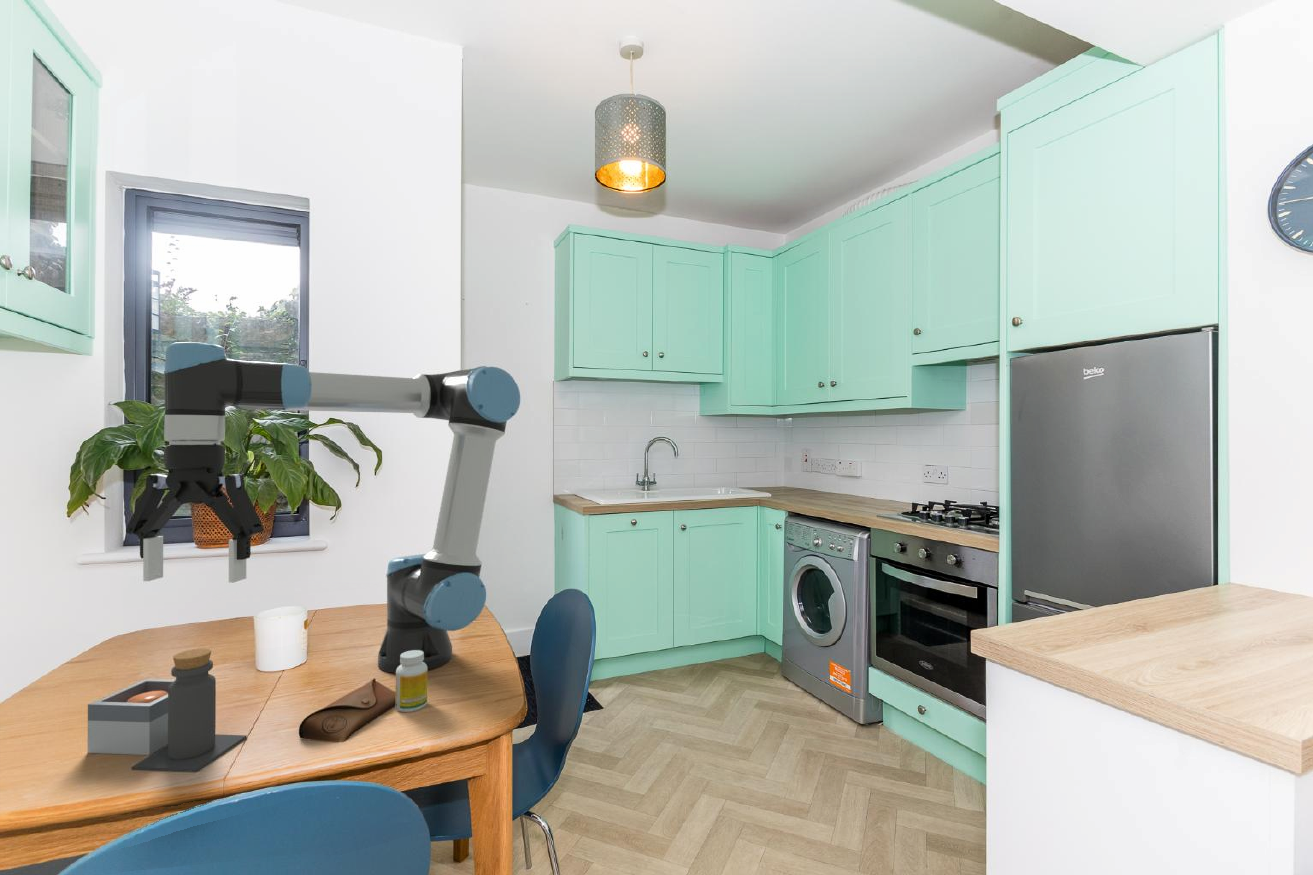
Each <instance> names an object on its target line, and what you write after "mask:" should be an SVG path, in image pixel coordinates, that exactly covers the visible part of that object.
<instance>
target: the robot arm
mask: <svg viewBox="0 0 1313 875" xmlns="http://www.w3.org/2000/svg"><path fill="white" fill-rule="evenodd" d="M226 354H227V353H226V350H225V348H224V347H223V346H221V345H218V344H212V343H211V344H209V343H206V342H193V341H179V342H174V343H171V344H169V345H168V346H167V347H166V350H165V361H164V370H163V381H164V382H163V383H164V386H163V387H164V434H163V435H164V436H163V437H164V438H163V439H164V441H166V442H169V444H167V445H165V447H164V453H163V454H164V461H163V462H164V468H165V469H167V470H168V472H167V474H166V473H154V474H153V473H152V474H147V476H146V478H145V488H144V490H143V493H142V494H141V497H140V499H139V501H138V503H137V505H136V507H135V510H134V511H133V514H132V515H131V518H130V519H129V522H128V524H127V526H126V528H125V532H126V534H128V535H132V534H133V535H135V536H136V537H138V538H139V557H140V559H142V560H143V562H142V563H143V565H142V567H143V568H142V570H143V571H142V572H143V573H142V574H143V576H142V577H143V578H142V580H143V582H151V581H154V580H158V579H162V578H164V536H163V535H162V532H161V531H162V529H163V528H164V527H165V526H166V524H167V523H168V522H169V521H170V520H171V519H172V517H173V516H174V515H175V513H176V512H177V511H178V510H179V509H180V508H181V507H182V506H183V505H184V504H185V505H186V504H193V505H194V504H197V505H200V504H204V505H205V506H206V507H209V508H210V509H211V510H212V512H213V513H214V514H215V516H216V517H217V518H218V519H219V520H220V522H222V524H223V525H224V526H225V528H226V529H227V530H228V531H229V533H230V534H231V535H232V536H233V537H231V539H228V583H236V582H239V581H242V580H247V559H250V557H251V554H252V553H251V552H252V551H251V550H252V549H251V542H252V541H251V539H252V537H253V536H255V535H258V534H260V533H263V532H264V530H265V527H264V525H263V523H262V522H261V519H260V517H259V515H258V513H257V510H256V508H255V507H254V505H253V503H252V500H251V498H250V496H249V494H248V492H247V489H246V485H245V480H244V479H245V478H244V475H243V474H241V473H237V474H236V473H235V474H227V475H224V473H223V469H224V467H225V466H226V446H224V444H221V442H224V441H225V440H226V407H233V408H235V409H238V410H240V411H246V412H247V411H248V412H251V411H253V412H254V411H305V412H307V411H309V412H311V411H312V412H318V411H319V412H349V413H350V412H351V413H352V412H354V413H357V412H358V413H360V412H361V413H391V414H392V413H395V414H397V413H398V414H399V413H401V414H413V415H414V416H415V417H416V418H419V419H436V420H442V421H448V422H447V423H448V425H447V426H448V428H449V429H450V430H451V432H452V433H453V439H452V443H451V449H450V455H449V460H448V466H447V471H446V476H445V481H444V486H443V492H442V498H441V502H440V506H439V507H440V508H439V512H438V518H437V524H436V529H435V534H434V540H433V546H432V549H431V550H430V551H428V552H427V553H423V554H413V555H406V556H398V557H395V558H392V559H391V560H389V562H388V563H387V572H386V574H385V575H386V630H385V634H384V636H383V639H382V642H381V644H380V648H379V651H378V654H377V666H378V668H379V669H380V670H382V671H384V672H387V673H393V674H394V673H395V674H396V669H397V668H398V666H400V665H401V663H400V655H401V654H402V653H404V652H407V651H412V650H420V651H423V652H424V659H423V661H422V662H424V663H425V664H426V665H427V671H429V670H432V669H436V668H439V667H441V666H443V665H445V664H447V663H448V662H450V661H451V659H452V657H453V645H452V642H451V638H450V636H449V633H448V632H454V631H459V630H462V629H464V628H466V627H468V626H469V625H471V624H472V623H473V621H475V620H477V619H478V618H479V616H480V615H481V614H482V611H483V609H484V608H485V604H486V601H487V590H486V586H485V585H484V582H483V580H482V579H481V578H480V576H481V575H480V574H481V569H482V561H481V560H480V558H479V557H478V556H477V548H478V544H479V538H480V531H481V526H482V520H483V516H484V515H483V514H484V510H485V503H486V499H487V498H486V497H487V492H488V488H489V487H488V486H489V481H490V475H491V471H492V464H493V458H494V453H495V447H496V443H497V441H498V440H499V439H500V438H502V437H503V436H505V433H506V429H507V421H509V420H511V419H512V418H513V416H516V414H517V413H518V412H519V411H518V410H519V408H520V404H521V393H520V392H521V391H520V387H519V386H518V383H517V382H516V381H515V379H514V377H513V376H512V375H511V374H510V373H509V372H508V371H506V370H504V369H503V368H500V367H497V366H496V367H495V366H487V365H486V366H485V365H482V366H477V367H475V368H469V369H462V370H461V369H460V370H455V371H451V372H445V373H436V374H435V373H434V374H426V373H425V374H424V373H418V374H417V375H416V376H414V377H413V378H412V377H399V376H398V377H396V376H393V377H392V376H381V375H365V374H364V375H362V374H346V373H345V374H344V373H333V372H314V371H313V372H312V371H309V369H308V368H307V367H305V366H303V365H299V364H292V363H291V364H290V363H289V362H283V363H281V362H280V363H279V362H278V363H277V362H269V361H268V362H266V361H249V360H248V361H247V360H238V359H234V358H233V359H232V358H228V357H227V356H228V355H226ZM167 488H168V489H169V490H168V491H167V493H166V494H165V492H166V489H167ZM222 488H223V489H225V492H226V493H225V492H224V491H223V489H222Z"/></svg>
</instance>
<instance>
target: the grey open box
mask: <svg viewBox="0 0 1313 875" xmlns="http://www.w3.org/2000/svg"><path fill="white" fill-rule="evenodd" d="M175 680H176V679H174V678H170V679H169V678H167V679H166V678H144V679H141V680H139V681H138V682H135V683H133V684H130V685H129V686H126V687H124V688H122V689H119V690H117V691H114V692H113V693H110V694H108V695H106V696H104V697H102V698H101V697H100V698H99V699H97V700H94V701H92V702H90V703H88V704H87V754H106V755H107V754H109V755H110V754H112V755H133V756H134V755H138V756H139V755H140V756H142V755H143V756H151V755H152V754H154V753H156V752H157V751H159V750H161V749H163V748H164V747H166V746H168V688H169V685H170V684H171V683H172V682H174V681H175ZM151 691H166V692H167V695H165V696H163V697H161V698H159V699H157V700H155V701H153V702H151V703H127V701H128V699H130V698H131V697H134V696H136V695H139V694H142V693H146V692H151Z"/></svg>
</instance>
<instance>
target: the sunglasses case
mask: <svg viewBox="0 0 1313 875" xmlns="http://www.w3.org/2000/svg"><path fill="white" fill-rule="evenodd" d="M395 695H396V691H394V690H393V689H391V688H389V687H387V686H386V685H384V684H382V683H380V682H379V681H377V679H376V678H372V679H371V680H370V681H369V682H367V683H366V684H363V685H361V686H360V687H358V688H355V689H354V690H353V691H350V692H349V693H347V694H345V695H343V696H342V697H340V698H338V699H336V700H334V701H333V702H332V703H329V704H328V705H326V706H324V707H323V708H321V709H318V710H316V711H314V712H311V713H310V714H309V715H308V716H306V717H305V718H304V719H303V720H302V721H301V722H300V724H299V726H298V727H299V728H298V735H299V738H300V739H301V738H303V739H304V740H309V739H310V740H311V741H319V740H320V742H329V743H332V742H333V743H340V742H342V743H344V742H346V741H347V740H349V738H350V736H351V737H352V736H353V735H354V734H356V733H357V732H358V731H359V730H361V729H363V728H364V727H365V726H367V725H369V724H370V723H371V722H372V721H374V720H376V719H377V718H379V717H380V716H382V715H383V714H385V713H387V712H389V711H390V710H392V708H395V707H396V706H395ZM355 732H356V733H355Z"/></svg>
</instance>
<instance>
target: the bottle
mask: <svg viewBox="0 0 1313 875" xmlns="http://www.w3.org/2000/svg"><path fill="white" fill-rule="evenodd" d="M211 655H212V649H210V648H194V649H188V650H184V651H181V652H178V653H176V654H174V655H173V656H172V659H173V663H174V666H173V667H172V668H171V671H170V672H171V676H172V677H173V678H176V680H175V681H174V682H172V683H171V684H170V685H169V688H168V744H167V746H168V757H169V758H170V759H175V760H181V759H189V758H193V757H196V756H199V755H202V754H204V753H206V752H208V751H210V750H211V749H212V748H213V747H214V746H215V734H216V722H217V720H216V715H217V714H216V711H217V710H216V709H217V708H216V707H217V706H216V705H217V704H216V697H217V696H216V695H217V692H216V690H217V687H216V684H217V682H216V680H217V679H216V676H214V675H213V674H210V673H209V671H211V670H212V669H213V668H214V662H213V660H212V659H211Z"/></svg>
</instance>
